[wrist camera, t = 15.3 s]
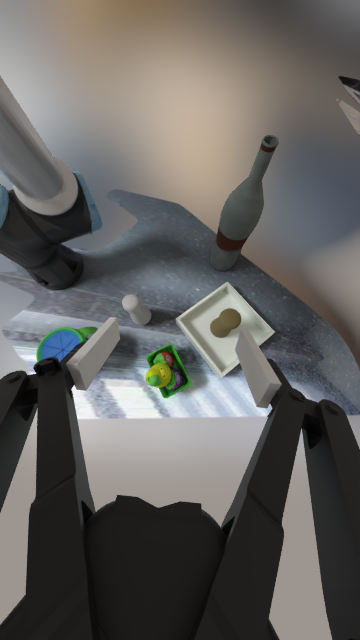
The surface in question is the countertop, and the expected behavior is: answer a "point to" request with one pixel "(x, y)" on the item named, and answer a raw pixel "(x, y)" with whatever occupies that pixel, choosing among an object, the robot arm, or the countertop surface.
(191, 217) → the countertop surface
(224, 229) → the bottle
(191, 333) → the bin
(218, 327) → the cork
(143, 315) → the salt shaker
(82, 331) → the snack cup
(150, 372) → the fruit basket
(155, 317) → the countertop surface
